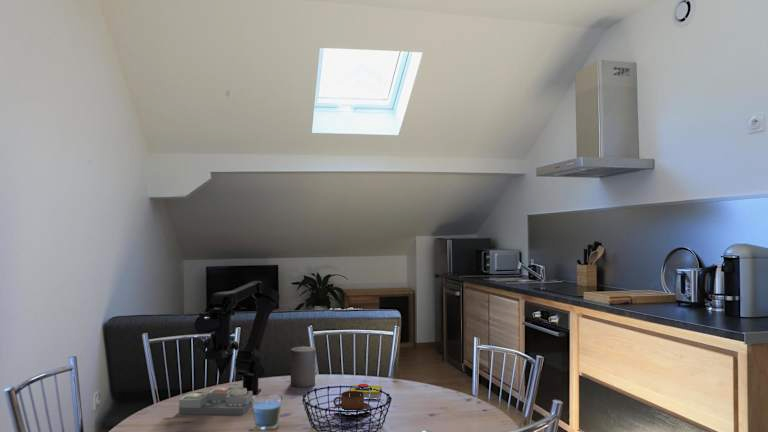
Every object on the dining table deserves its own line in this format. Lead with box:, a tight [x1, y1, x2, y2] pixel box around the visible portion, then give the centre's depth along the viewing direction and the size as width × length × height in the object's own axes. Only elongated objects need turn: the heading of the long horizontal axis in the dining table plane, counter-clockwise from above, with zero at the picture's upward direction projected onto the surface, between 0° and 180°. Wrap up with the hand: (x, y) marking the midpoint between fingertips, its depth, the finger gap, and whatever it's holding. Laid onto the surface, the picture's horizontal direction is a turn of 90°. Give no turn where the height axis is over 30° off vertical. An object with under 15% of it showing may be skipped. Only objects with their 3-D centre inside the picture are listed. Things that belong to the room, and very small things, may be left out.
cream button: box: [232, 386, 247, 396], centre depth 186 cm, size 5×5×2 cm
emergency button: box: [347, 383, 383, 399], centre depth 200 cm, size 9×4×15 cm
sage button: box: [186, 392, 203, 399], centre depth 183 cm, size 5×5×2 cm
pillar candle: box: [289, 346, 316, 388], centre depth 216 cm, size 10×10×15 cm
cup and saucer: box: [332, 390, 372, 415], centre depth 180 cm, size 12×12×6 cm
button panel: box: [178, 387, 257, 416], centre depth 186 cm, size 15×21×4 cm
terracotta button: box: [213, 386, 230, 393], centre depth 190 cm, size 5×5×2 cm
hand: (221, 375), depth 191 cm, fingers closed
